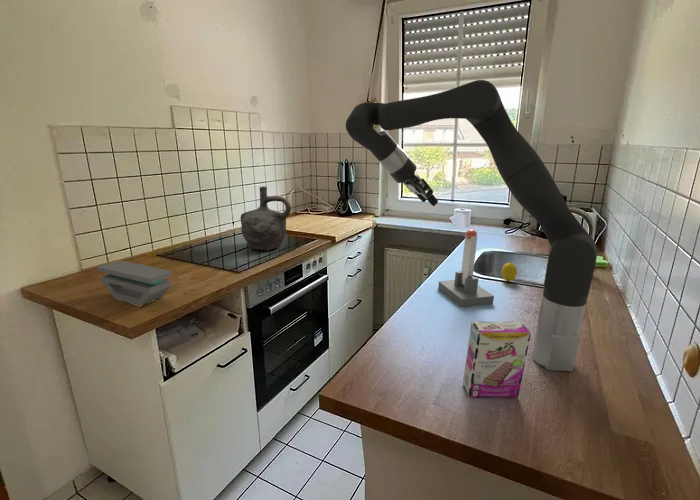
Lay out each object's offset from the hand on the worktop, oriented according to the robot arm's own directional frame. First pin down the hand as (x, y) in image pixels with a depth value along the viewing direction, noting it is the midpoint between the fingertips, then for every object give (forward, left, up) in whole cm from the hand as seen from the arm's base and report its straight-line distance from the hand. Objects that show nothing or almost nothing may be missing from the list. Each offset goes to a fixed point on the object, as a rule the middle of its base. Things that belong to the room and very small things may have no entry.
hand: (430, 201), depth 117 cm
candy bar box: (-46, -10, -35) cm, 58 cm away
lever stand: (+6, -15, -34) cm, 38 cm away
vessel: (+53, +71, -35) cm, 95 cm away
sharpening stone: (-9, +96, -35) cm, 102 cm away
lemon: (+22, -35, -35) cm, 54 cm away
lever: (+6, -15, -31) cm, 35 cm away
